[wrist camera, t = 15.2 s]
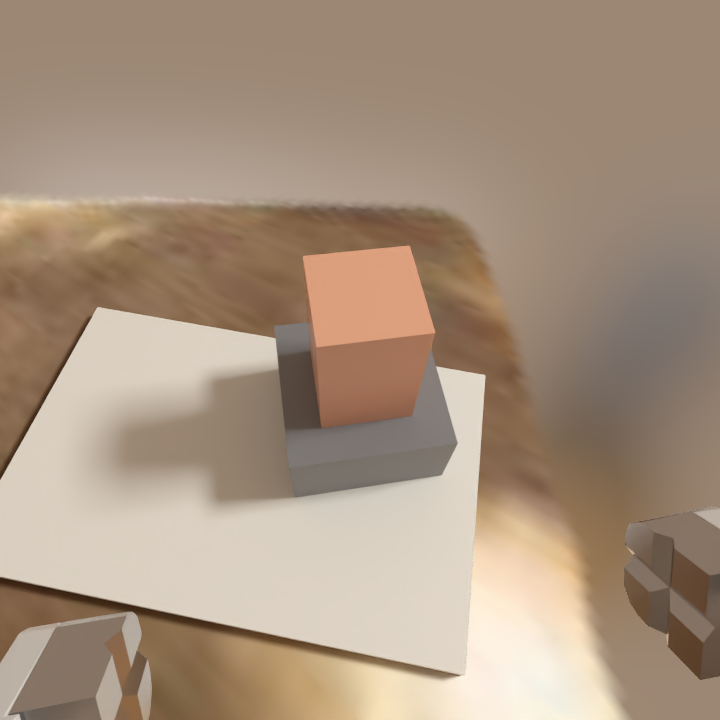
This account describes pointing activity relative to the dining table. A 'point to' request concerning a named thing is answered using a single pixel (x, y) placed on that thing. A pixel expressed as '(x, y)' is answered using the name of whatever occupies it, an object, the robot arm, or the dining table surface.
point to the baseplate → (233, 501)
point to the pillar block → (366, 334)
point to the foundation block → (357, 430)
